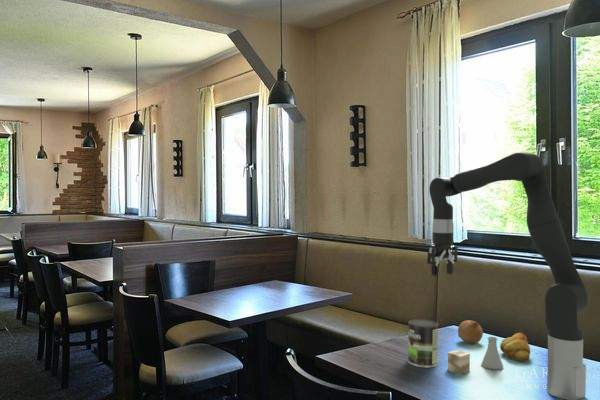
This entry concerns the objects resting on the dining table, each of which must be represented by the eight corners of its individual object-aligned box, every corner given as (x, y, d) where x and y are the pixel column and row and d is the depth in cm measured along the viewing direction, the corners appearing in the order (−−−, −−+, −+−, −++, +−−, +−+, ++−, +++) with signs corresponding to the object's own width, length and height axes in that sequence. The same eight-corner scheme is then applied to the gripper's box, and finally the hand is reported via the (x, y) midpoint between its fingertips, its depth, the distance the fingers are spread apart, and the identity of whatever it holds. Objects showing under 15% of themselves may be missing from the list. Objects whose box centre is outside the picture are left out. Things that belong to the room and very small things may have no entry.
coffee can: (420, 369, 165) (420, 328, 165) (401, 360, 174) (402, 320, 174) (444, 365, 169) (444, 324, 169) (424, 356, 179) (425, 317, 179)
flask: (505, 371, 164) (505, 341, 164) (482, 369, 166) (483, 340, 166) (501, 363, 171) (501, 335, 171) (479, 362, 173) (479, 334, 173)
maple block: (469, 371, 164) (469, 353, 164) (460, 374, 161) (460, 356, 161) (457, 367, 168) (457, 349, 168) (447, 370, 165) (447, 352, 165)
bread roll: (535, 364, 171) (535, 341, 171) (505, 362, 173) (506, 339, 173) (524, 352, 184) (524, 331, 184) (497, 350, 186) (497, 329, 186)
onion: (478, 352, 192) (486, 333, 188) (454, 344, 195) (462, 324, 190) (478, 337, 201) (486, 318, 196) (455, 329, 203) (462, 311, 198)
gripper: (438, 232, 174) (438, 278, 175) (463, 231, 183) (462, 274, 183) (422, 231, 181) (421, 275, 181) (446, 229, 189) (446, 271, 189)
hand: (442, 274), depth 182 cm, fingers open, 8 cm apart
